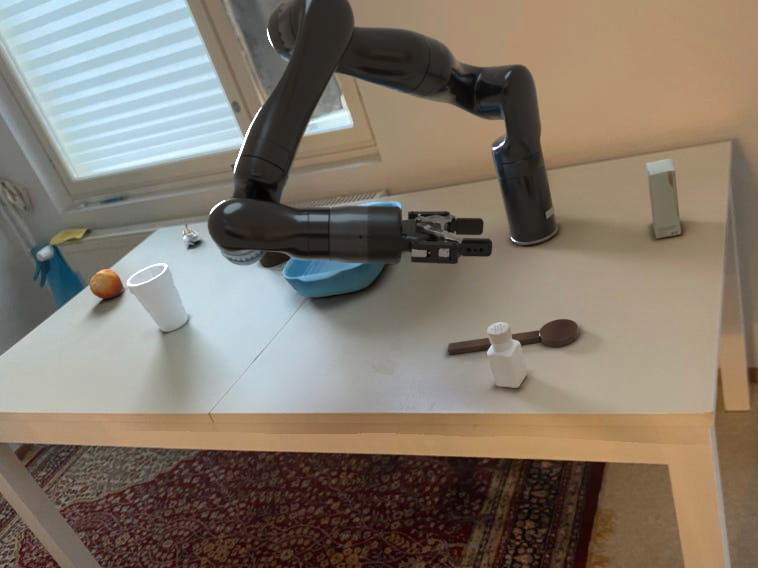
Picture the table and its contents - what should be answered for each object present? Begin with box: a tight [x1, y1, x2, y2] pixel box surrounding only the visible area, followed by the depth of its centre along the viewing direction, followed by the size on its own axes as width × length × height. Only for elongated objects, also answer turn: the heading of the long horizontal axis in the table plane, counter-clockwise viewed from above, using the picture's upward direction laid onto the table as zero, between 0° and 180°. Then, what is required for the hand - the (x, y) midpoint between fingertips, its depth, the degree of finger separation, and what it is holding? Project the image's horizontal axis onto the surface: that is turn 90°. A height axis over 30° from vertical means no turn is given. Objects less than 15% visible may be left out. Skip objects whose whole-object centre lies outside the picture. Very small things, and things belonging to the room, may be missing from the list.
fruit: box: [89, 268, 125, 300], centre depth 186 cm, size 8×8×8 cm
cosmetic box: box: [645, 157, 682, 239], centre depth 124 cm, size 6×4×12 cm
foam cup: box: [126, 263, 189, 333], centre depth 155 cm, size 10×9×13 cm
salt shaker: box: [486, 321, 528, 389], centre depth 102 cm, size 4×4×10 cm
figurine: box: [182, 223, 199, 246], centre depth 201 cm, size 5×4×6 cm
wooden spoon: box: [447, 318, 580, 356], centre depth 112 cm, size 21×6×1 cm, turn 79°
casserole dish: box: [281, 201, 403, 299], centre depth 154 cm, size 37×22×7 cm, turn 166°
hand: (487, 236), depth 93 cm, fingers open, 8 cm apart
